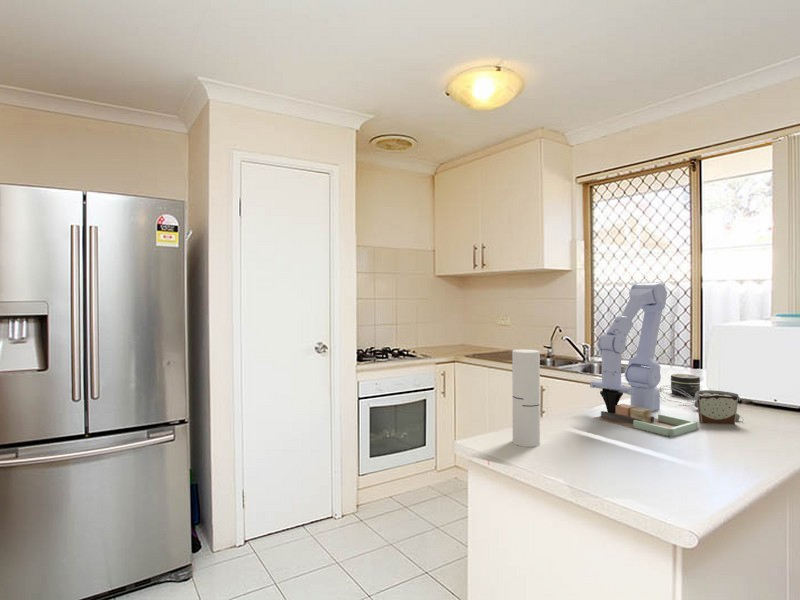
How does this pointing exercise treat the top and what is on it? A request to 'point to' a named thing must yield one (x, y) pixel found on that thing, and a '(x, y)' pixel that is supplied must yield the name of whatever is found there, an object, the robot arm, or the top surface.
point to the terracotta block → (624, 410)
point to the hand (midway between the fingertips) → (611, 413)
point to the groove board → (631, 421)
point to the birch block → (641, 414)
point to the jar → (685, 384)
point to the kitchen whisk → (691, 401)
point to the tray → (682, 428)
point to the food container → (717, 406)
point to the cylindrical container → (526, 397)
